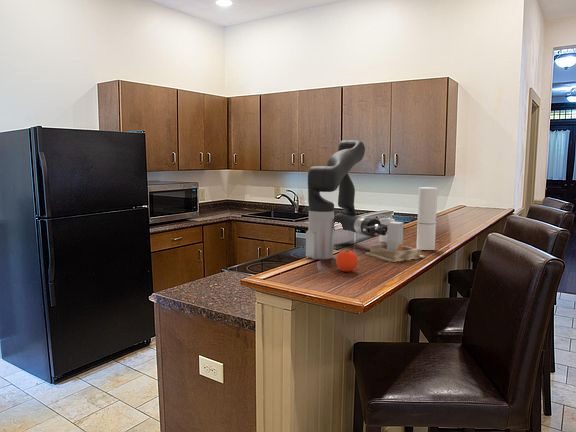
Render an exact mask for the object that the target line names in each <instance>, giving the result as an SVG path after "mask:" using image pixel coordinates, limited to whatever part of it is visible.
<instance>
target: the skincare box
mask: <svg viewBox="0 0 576 432" xmlns="http://www.w3.org/2000/svg"><path fill="white" fill-rule="evenodd" d="M404 223H405V222H403V221H395V220H394V221H393V222H390V223H388V234H387V243H386V244H387V250H391V251H402V248H403V246H404V234H403V229H404V227H405V226H404Z"/></svg>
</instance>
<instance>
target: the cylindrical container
mask: <svg viewBox="0 0 576 432" xmlns="http://www.w3.org/2000/svg"><path fill="white" fill-rule="evenodd" d="M438 191H439V189H438V187H424V186H423V187H418V202H417V223H416V225H417V226H416V229H417V231H416V247H415V248H416V249H420V251H422V250H434V251H435V249H436V231H437V230H436V228H437V226H436V225H437V212H438V211H437V209H438V208H437V207H438V206H437V205H438Z"/></svg>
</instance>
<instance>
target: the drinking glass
mask: <svg viewBox="0 0 576 432" xmlns="http://www.w3.org/2000/svg"><path fill="white" fill-rule="evenodd" d="M378 220H379V221H380V222H381V224H386V225H388V223H390V222H393V221H395V218H388V217H385V218H382V217H381V218H378ZM387 227H388V226H387ZM387 232H388V231H387ZM379 242H380V243H386V244H387V234H386V235H384V236H383V235H379Z"/></svg>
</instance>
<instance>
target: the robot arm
mask: <svg viewBox="0 0 576 432" xmlns="http://www.w3.org/2000/svg"><path fill="white" fill-rule="evenodd" d="M365 152H366V147H365V144H364V142H363V141H362V140H358V139H357V140H356V139H354V140H353V139H350V140H349V139H343V140H341V141H339V144H338V148H337V151H336V152H334V153H333V154H332V155H331V156H330V157H329V158H328V160H327V164H326V166H325V165H324V166H323V165H317V166H316V165H315V166H311V167H309V170H308V172H307V196H308V197H307V201H308V202H307V203H308V230H306V232H305V257H307V258H310V259H312V260H329V259H333V257H334V229H335V227H334V223H335V222H338V223H339V222H340V223H341V224H342V227H343V230H342V231H349V232H353V233H356V234H359V235H361V236H366V237H370V238H375V237H378V236H380V235H383V236H384V235H386V234H388V232H387V231H388V227H387V226H388V225H386V224H381V222H380V221H379V218H374V217H368V216H359V215H357V214H356V209H355V195H356V189H355V185H354V183H353V181H352V179H351V177H350V175H349V172H350V171H351V170H352V168H353V167H354V166H355V165H356V164H358V163H359V162H361V161H362V160H363V159H364V156H365ZM337 189H338V197H337V198H338V199H337V206H338V208H341V209H343V210H344V213H342V212H341V213H339V212H338V213H336V214H335V203H334V202H333V201H331V200H327V199H326V198H324V197H323V196H322V195H321V192H322V193H332V192H336V190H337ZM404 231H405V230H404V228H403V235H404V233H405V232H404Z"/></svg>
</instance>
